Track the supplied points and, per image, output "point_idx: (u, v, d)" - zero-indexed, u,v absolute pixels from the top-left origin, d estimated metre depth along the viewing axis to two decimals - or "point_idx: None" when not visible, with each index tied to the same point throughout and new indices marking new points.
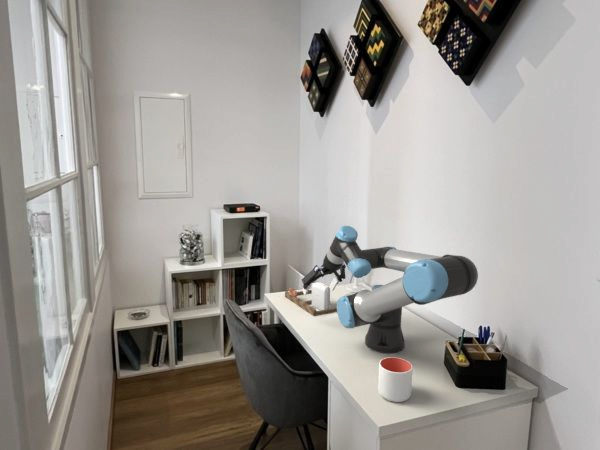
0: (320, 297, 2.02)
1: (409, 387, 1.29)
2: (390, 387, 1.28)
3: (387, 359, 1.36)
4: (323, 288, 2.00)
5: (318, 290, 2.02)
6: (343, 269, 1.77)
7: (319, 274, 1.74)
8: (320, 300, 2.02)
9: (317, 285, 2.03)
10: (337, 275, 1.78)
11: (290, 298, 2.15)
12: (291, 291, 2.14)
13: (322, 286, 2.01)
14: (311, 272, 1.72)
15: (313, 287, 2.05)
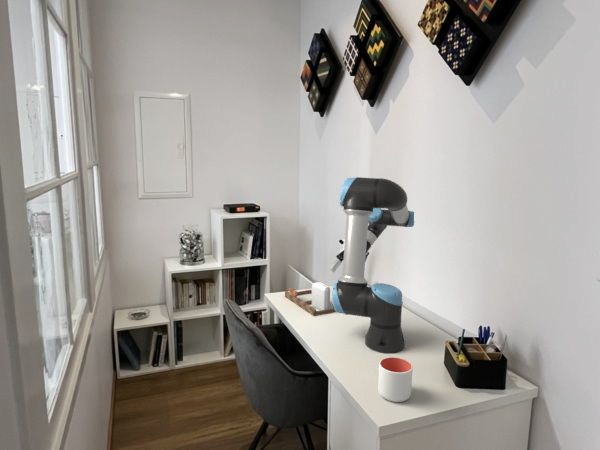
0: (320, 297, 2.02)
1: (409, 387, 1.29)
2: (390, 387, 1.28)
3: (387, 359, 1.36)
4: (323, 288, 2.00)
5: (318, 290, 2.02)
6: None
7: None
8: (320, 300, 2.02)
9: (317, 285, 2.03)
10: None
11: (290, 298, 2.15)
12: (291, 291, 2.14)
13: (322, 286, 2.01)
14: None
15: (313, 287, 2.05)
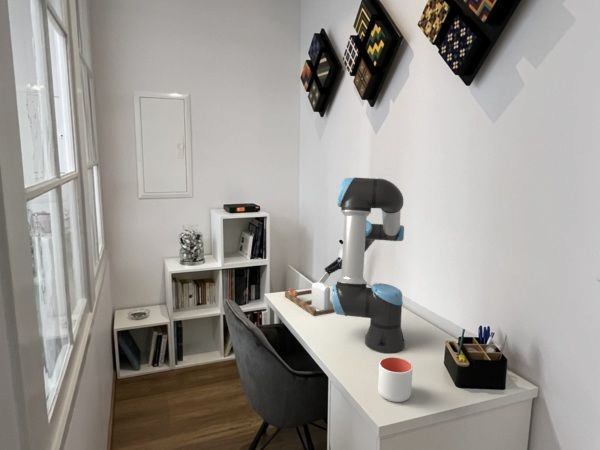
0: (320, 297, 2.02)
1: (409, 387, 1.29)
2: (390, 387, 1.28)
3: (387, 359, 1.36)
4: (323, 288, 2.00)
5: (318, 290, 2.02)
6: None
7: None
8: (320, 300, 2.02)
9: (317, 285, 2.03)
10: None
11: (290, 298, 2.15)
12: (291, 291, 2.14)
13: (322, 286, 2.01)
14: None
15: (313, 287, 2.05)
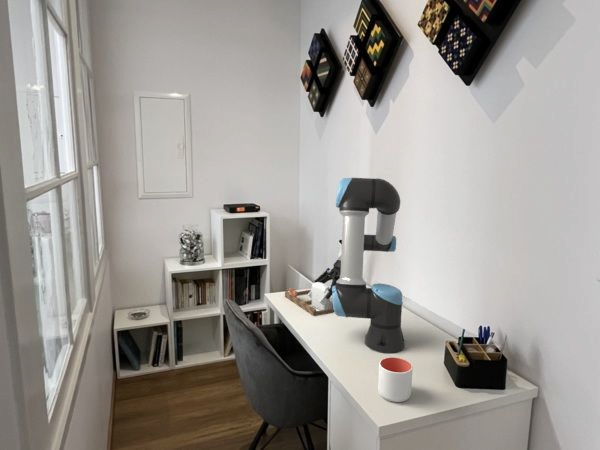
0: (320, 297, 2.02)
1: (409, 387, 1.29)
2: (390, 387, 1.28)
3: (387, 359, 1.36)
4: (323, 288, 2.00)
5: (318, 290, 2.02)
6: (339, 277, 2.01)
7: None
8: None
9: (317, 285, 2.03)
10: (332, 282, 2.02)
11: (290, 298, 2.15)
12: (291, 291, 2.14)
13: (322, 286, 2.01)
14: None
15: (313, 287, 2.05)
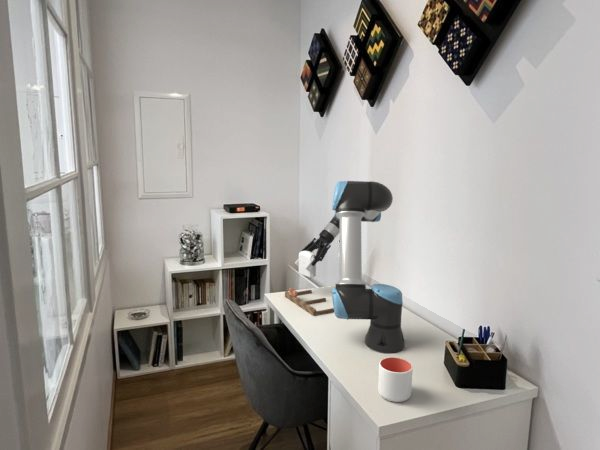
0: (306, 264, 2.12)
1: (409, 387, 1.29)
2: (390, 387, 1.28)
3: (387, 359, 1.36)
4: (309, 255, 2.10)
5: (305, 257, 2.12)
6: (325, 245, 2.11)
7: None
8: None
9: (303, 253, 2.13)
10: (318, 250, 2.12)
11: (290, 298, 2.15)
12: (291, 291, 2.14)
13: (308, 254, 2.11)
14: None
15: (300, 255, 2.15)
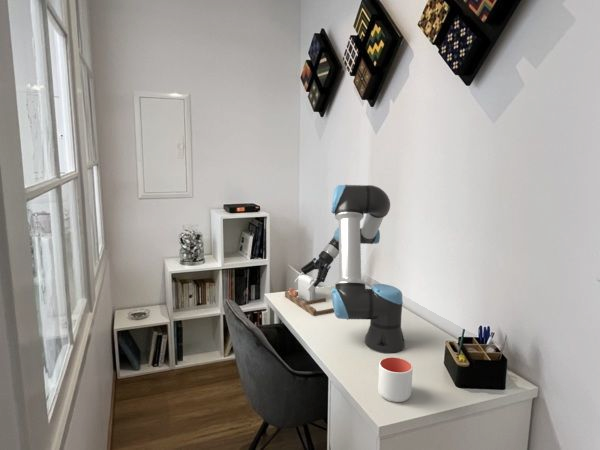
0: (306, 288, 2.14)
1: (409, 387, 1.29)
2: (390, 387, 1.28)
3: (387, 359, 1.36)
4: (308, 280, 2.12)
5: (304, 282, 2.14)
6: (325, 266, 2.13)
7: None
8: (306, 292, 2.14)
9: (303, 277, 2.15)
10: (319, 271, 2.13)
11: (290, 298, 2.15)
12: (291, 291, 2.14)
13: (308, 278, 2.13)
14: None
15: (299, 279, 2.17)
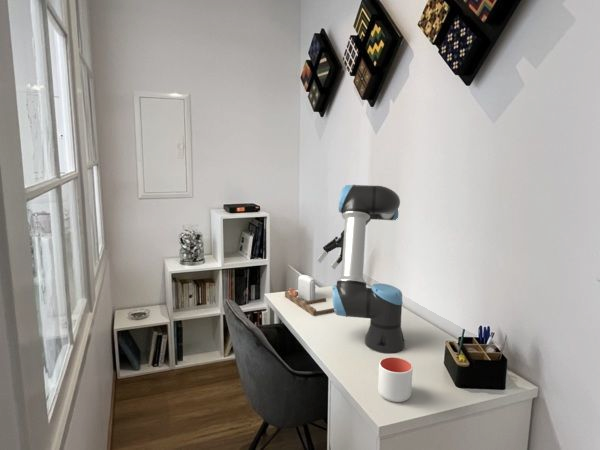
0: (306, 288, 2.14)
1: (409, 387, 1.29)
2: (390, 387, 1.28)
3: (387, 359, 1.36)
4: (308, 280, 2.12)
5: (304, 282, 2.14)
6: None
7: None
8: (306, 292, 2.14)
9: (303, 277, 2.15)
10: (342, 249, 2.17)
11: (290, 298, 2.15)
12: (291, 291, 2.14)
13: (308, 278, 2.13)
14: None
15: (299, 279, 2.17)
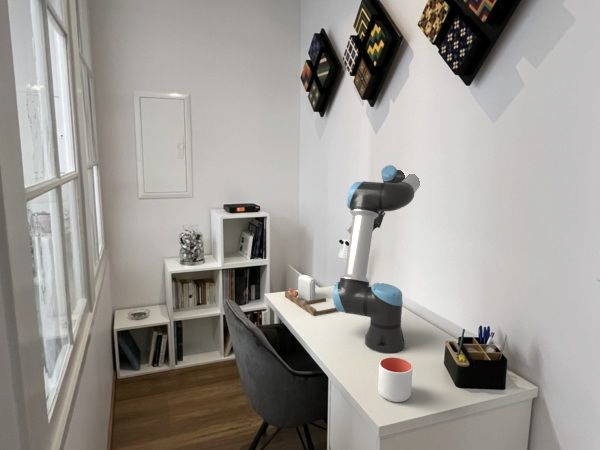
0: (306, 288, 2.14)
1: (409, 387, 1.29)
2: (390, 387, 1.28)
3: (387, 359, 1.36)
4: (308, 280, 2.12)
5: (304, 282, 2.14)
6: (380, 213, 2.10)
7: None
8: (306, 292, 2.14)
9: (303, 277, 2.15)
10: None
11: (290, 298, 2.15)
12: (291, 291, 2.14)
13: (308, 278, 2.13)
14: None
15: (299, 279, 2.17)
